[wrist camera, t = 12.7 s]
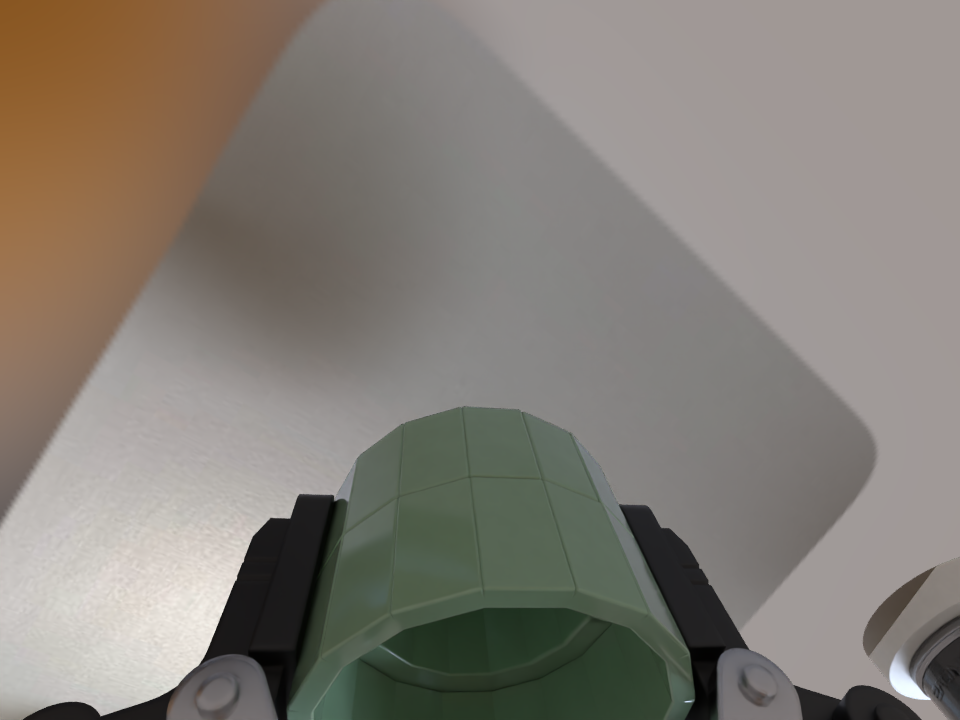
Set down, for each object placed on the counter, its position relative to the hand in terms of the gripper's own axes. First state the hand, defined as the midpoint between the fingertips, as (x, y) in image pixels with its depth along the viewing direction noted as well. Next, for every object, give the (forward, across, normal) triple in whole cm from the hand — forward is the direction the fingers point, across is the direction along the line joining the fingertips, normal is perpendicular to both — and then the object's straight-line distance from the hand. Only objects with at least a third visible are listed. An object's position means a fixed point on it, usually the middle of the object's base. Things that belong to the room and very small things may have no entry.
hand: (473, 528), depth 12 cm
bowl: (+1, 0, 0) cm, 1 cm away
